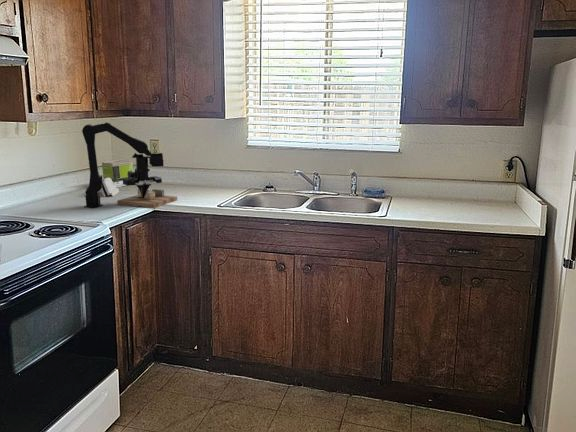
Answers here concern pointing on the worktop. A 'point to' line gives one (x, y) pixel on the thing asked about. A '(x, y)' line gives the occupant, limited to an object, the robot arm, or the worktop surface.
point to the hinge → (109, 187)
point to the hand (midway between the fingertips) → (143, 197)
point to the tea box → (117, 171)
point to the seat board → (139, 201)
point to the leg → (147, 194)
